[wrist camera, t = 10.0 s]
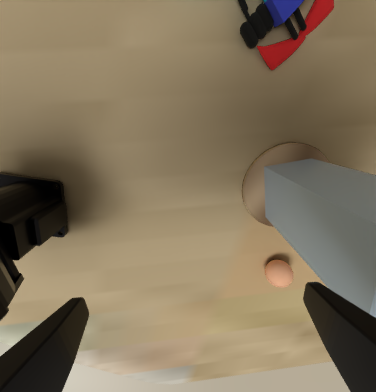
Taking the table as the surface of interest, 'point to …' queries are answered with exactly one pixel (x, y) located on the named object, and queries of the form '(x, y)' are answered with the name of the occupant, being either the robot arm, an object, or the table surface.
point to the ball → (279, 273)
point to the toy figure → (275, 15)
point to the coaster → (255, 175)
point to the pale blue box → (328, 223)
